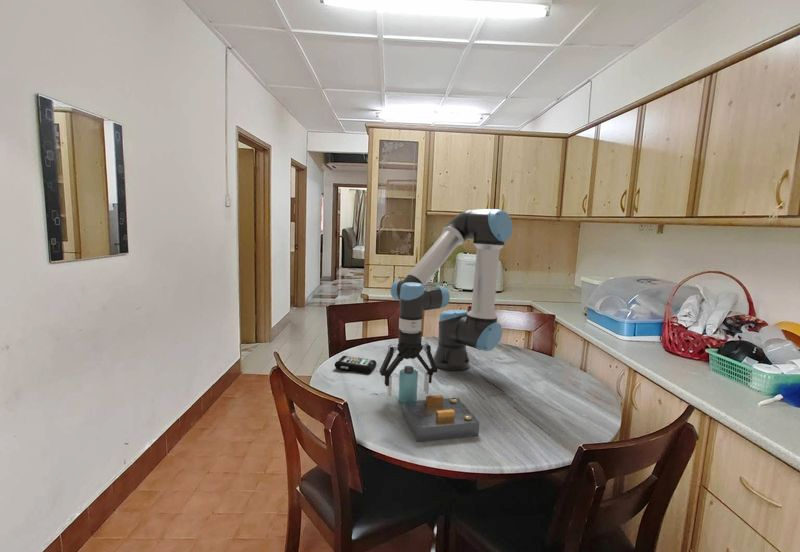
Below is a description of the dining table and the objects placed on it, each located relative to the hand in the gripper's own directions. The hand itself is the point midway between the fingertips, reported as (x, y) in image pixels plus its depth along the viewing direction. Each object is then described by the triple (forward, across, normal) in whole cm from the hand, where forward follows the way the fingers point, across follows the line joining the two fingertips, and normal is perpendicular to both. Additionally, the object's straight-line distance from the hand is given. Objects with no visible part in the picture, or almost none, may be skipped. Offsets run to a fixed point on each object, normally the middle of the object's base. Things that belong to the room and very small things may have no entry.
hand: (407, 393), depth 134 cm
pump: (+2, 0, 0) cm, 2 cm away
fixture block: (+2, +5, -17) cm, 18 cm away
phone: (+3, -13, +32) cm, 35 cm away
